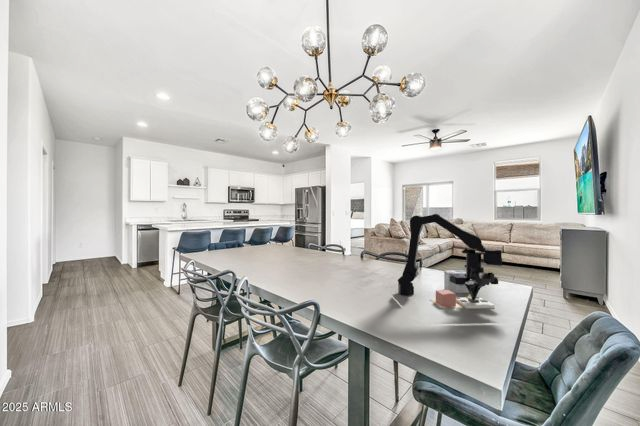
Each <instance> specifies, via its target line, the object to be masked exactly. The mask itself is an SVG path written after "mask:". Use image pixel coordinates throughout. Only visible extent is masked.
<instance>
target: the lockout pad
mask: <svg viewBox="0 0 640 426" xmlns="http://www.w3.org/2000/svg"><path fill="white" fill-rule="evenodd" d="M429 301H430V302H431V303H433V304H434V305H436V306H437V307H438V308H439V309H446V308H447V309H451V308H453V309H454V308H457V309H458V308H461V309H462V308H463V307H464V306H462V305H461V304H459V303H457V302H456V306H442V305H440V304H439V303H438V302H436V299H429ZM463 309H464V308H463Z"/></svg>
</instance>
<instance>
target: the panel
mask: <svg viewBox="0 0 640 426" xmlns="http://www.w3.org/2000/svg"><path fill="white" fill-rule="evenodd" d="M468 298H471V296H465V297H461V296H456V303H457V304H458V305H460V306H462V307H464V308H465V309H495V307H496V306H495V305H496V304H494V303H491V302H489V301H488V300H486V299H484V298H481V297H480V296H476V299H478V300H479V303H472V302H470V301H468Z"/></svg>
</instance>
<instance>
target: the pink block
mask: <svg viewBox="0 0 640 426" xmlns="http://www.w3.org/2000/svg"><path fill="white" fill-rule="evenodd" d="M456 298H457V293H453V292H451V291H450V290H444V289H443V290H442V289H439V290H438V289H436V290H435V300H436V302H438V303H439V304H440V305H442V306H456V303H457V302H456Z"/></svg>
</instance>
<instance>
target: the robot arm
mask: <svg viewBox="0 0 640 426" xmlns="http://www.w3.org/2000/svg"><path fill="white" fill-rule="evenodd" d="M431 223H432V224H433V223H435V224H437V225H438V226H440V227H441V228H443V229H445V230H447V232H449V233H450V234H452V235H454V236H456V237H457V238H458V239H459V240H461V242H463V243H464V245H465V246H467V247H468V248H467V247H464V249H463V250H461V253H462V254H466V255H465V257H466V258H465V259H466V260H465V261H466V263H465V264H464V268H466V269H465V271H466V274H465V276H466V277H462V276H459V275H451V277H450V282H452V283H454V284H457V285H464V284H465V285H466V287H467V289H468V291H469V293H468V294H469V295H470V297H471V298H472V299H475V298H476V297H478V293H479V292H480V289H482V288H483V287H485V286H490V285H499V278H498V277H496V276H495V274H494V273H493V272H484V270H485V269H484V267H483V266H482V263H485V265H486V266H495V267H496V266H497V267H502V266H503V258H502V250H501V249H487V248H486V246H484V245H483V244H482V239H481V237H480V236H479V235H476V234H474V233H472V232H469V231H467V230H464V229H462V228H461V227H459V226H457V225H456V224H454V223H452V222H450V221H449V220H448V219H445V218H444V217H443V216H441V215H440V214H439V213H434V214H431V215H430V214H429V215H424V216H423V215H422V216H421V215H418V214H417V215H413V216H411V217H410V219H409V230H410V238H409V239H410V240H409V246H408V255H407V260H406V261H407V262H406V263H405V266H404V268H403V272H402V275H401V276H400V277H399V278H398V279H397V282H398V283H397V285H398V288H397V290H398V291H397V292H398V294H399V296H405V297H406V296H409V297H410V296H414V293H415V286H414V283H413V281H414V280H415V279H416V278H417V277H418V276H419V269H420V266H417V257H418V250H419V243H420V236H421V232H422V231H423V227H424V225H426V224H427V225H428V224H431ZM476 250H477V251H476Z"/></svg>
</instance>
